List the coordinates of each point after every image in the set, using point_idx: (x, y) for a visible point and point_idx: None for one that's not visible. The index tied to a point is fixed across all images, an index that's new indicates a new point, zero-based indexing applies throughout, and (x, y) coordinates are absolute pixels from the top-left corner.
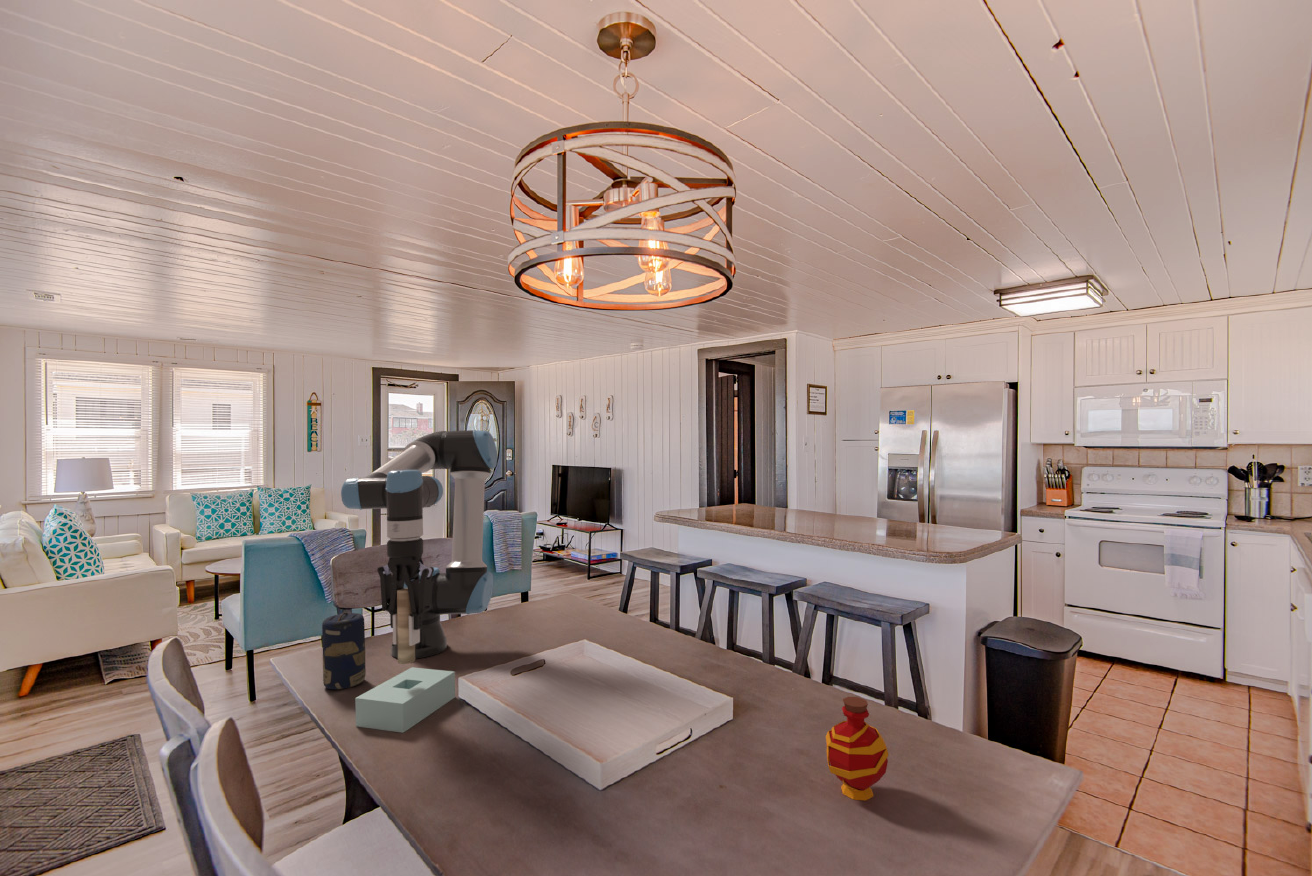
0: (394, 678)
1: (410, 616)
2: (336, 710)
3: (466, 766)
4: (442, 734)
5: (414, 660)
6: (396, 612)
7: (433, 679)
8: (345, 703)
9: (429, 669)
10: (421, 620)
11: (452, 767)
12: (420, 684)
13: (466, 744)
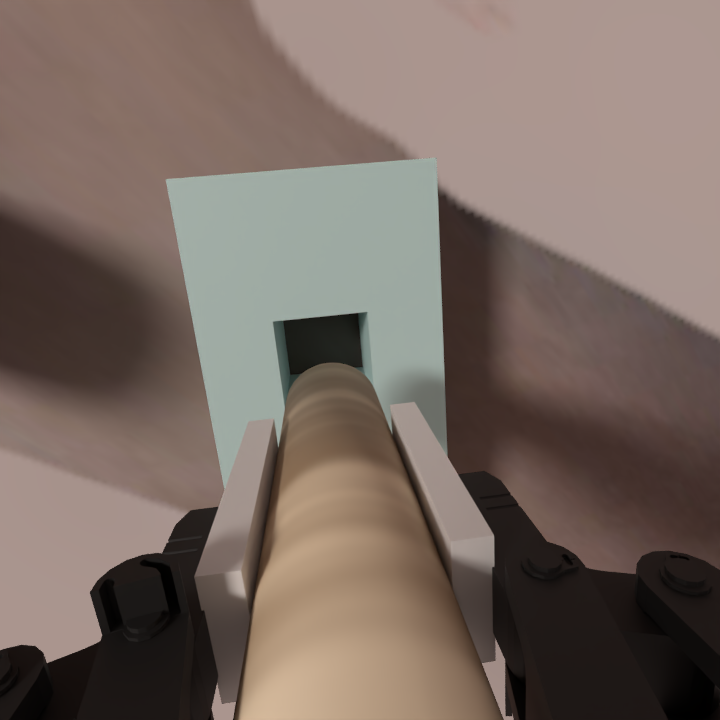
0: (210, 332)
1: (482, 662)
2: (65, 419)
3: (692, 517)
4: (543, 420)
5: (375, 391)
6: (210, 663)
7: (401, 280)
8: (35, 366)
9: (285, 174)
10: (524, 521)
11: (662, 531)
12: (384, 345)
13: (640, 439)
